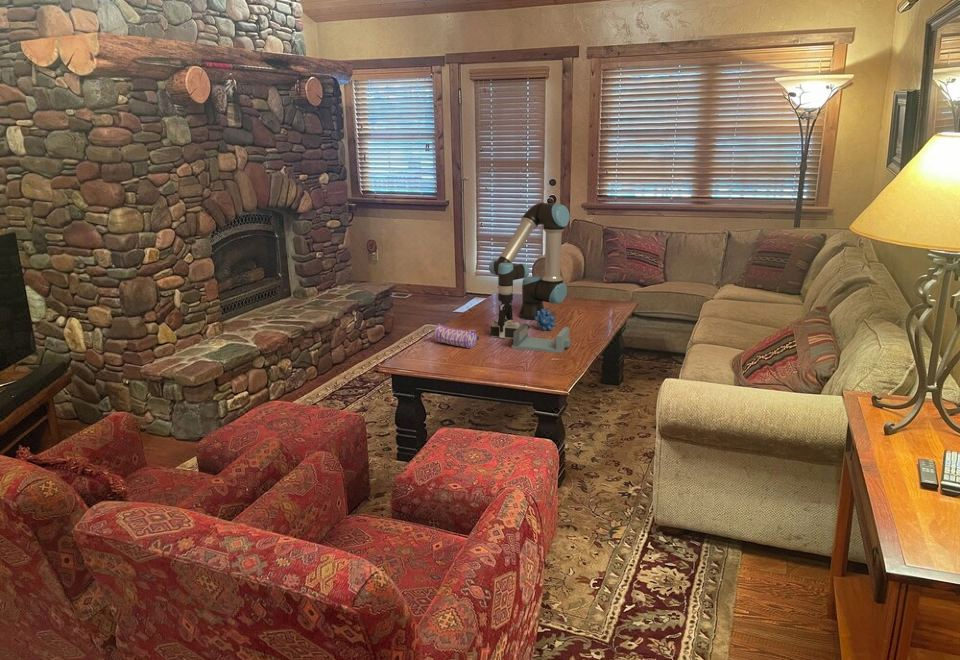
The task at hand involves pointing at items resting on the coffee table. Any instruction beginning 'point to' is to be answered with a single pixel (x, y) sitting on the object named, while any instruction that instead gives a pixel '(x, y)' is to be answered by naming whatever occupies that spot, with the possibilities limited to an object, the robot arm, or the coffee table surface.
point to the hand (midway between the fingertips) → (505, 334)
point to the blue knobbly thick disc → (545, 319)
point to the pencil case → (455, 336)
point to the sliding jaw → (521, 334)
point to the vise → (547, 343)
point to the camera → (508, 329)
